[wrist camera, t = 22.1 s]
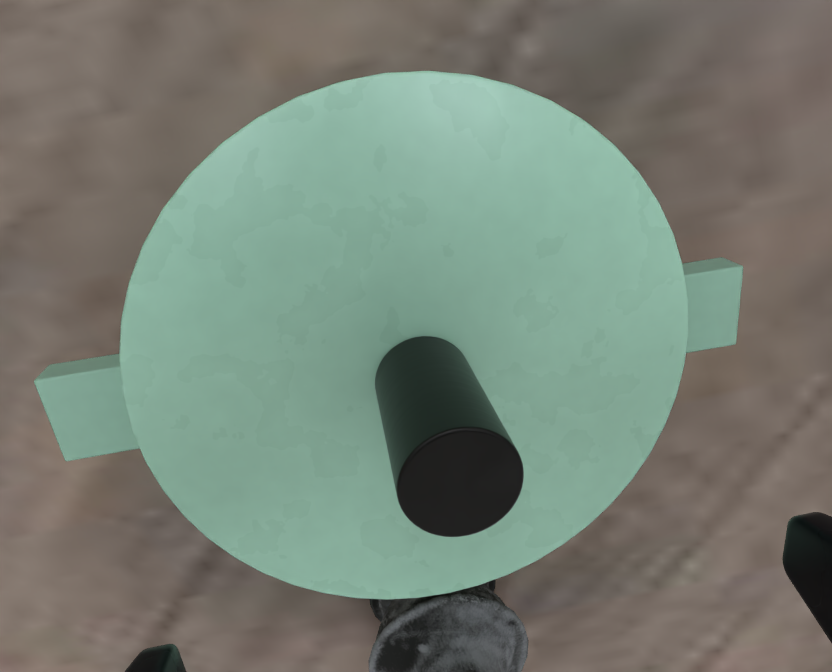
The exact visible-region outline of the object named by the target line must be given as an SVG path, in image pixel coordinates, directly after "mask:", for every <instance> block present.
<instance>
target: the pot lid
mask: <svg viewBox="0 0 832 672" xmlns="http://www.w3.org/2000/svg"><path fill="white" fill-rule="evenodd" d="M687 339H688V297H687V290H686V283H685V276H684V269H683V265H682V262H681V258H680V255H679V251H678V248H677V245H676V241H675V238H674V234H673V232H672V230H671V228H670V226H669V224H668V221H667V219H666V217H665V215H664V213H663V211H662V208H661V206H660V204H659V202H658V200H657V199H656V197H655V196H654V194H653V193H652V191H651V190H650V188H649V187H648V185H647V184H646V182H645V181H644V179H643V178H642V176H641V175H640V173H639V172H638V171H637V170H636V168H635V167H634V166H633V165H632V164H631V163H630V162H629V161H628V160H627V158H626V157H625V156H624V155H623V154H622V153H621V152H620V151H619V149H618V148H617V147H616V146H615V145H614V144H613V143H612V142H610V141H609V140H608V139H607V138H605V137H604V136H603V135H602V134H601V133H599V132H598V131H597V130H596V129H594V128H593V127H592V126H591V125H590V124H588V123H587V122H586V121H585V120H583V119H581V118H580V117H578V116H576V115H575V114H573V113H571V112H570V111H568V110H566V109H565V108H563V107H561V106H560V105H558V104H556V103H554V102H553V101H551V100H549V99H546V98H544V97H542V96H539V95H537V94H534V93H532V92H529V91H527V90H524V89H522V88H519V87H517V86H515V85H512V84H508V83H504V82H499V81H495V80H491V79H487V78H483V77H479V76H475V75H469V74H458V73H448V72H437V71H413V72H393V73H381V74H376V75H371V76H366V77H361V78H356V79H351V80H346V81H341V82H338V83H335V84H332V85H329V86H326V87H323V88H320V89H318V90H315V91H312V92H309V93H306V94H303V95H300V96H298V97H296V98H294V99H292V100H290V101H288V102H286V103H284V104H282V105H280V106H278V107H276V108H275V109H273V110H271V111H269V112H267V113H265V114H263V115H261V116H259V117H257V118H256V119H254V120H253V121H252V122H250V123H249V124H248V125H246V126H245V127H243V128H242V129H241V130H239V131H238V132H236V133H235V134H234V135H232V136H231V137H229V138H228V139H227V140H225V141H224V142H222V143H221V144H220V145H219V146H218V147H217V148H216V149H215V150H214V151H213V152H212V153H211V154H210V155H209V156H208V157H207V158H206V159H205V160H203V161H202V162H201V163H200V164H199V165H198V166H197V167H196V168H195V169H194V170H193V171H192V172H191V173H190V174H189V175H188V177H187V178H186V179H185V180H184V182H183V183H182V184H181V186H180V187H179V188H178V190H177V191H176V192H175V193H174V195H173V196H172V197H171V199H170V200H169V201H168V203H167V204H166V205H165V206H164V208H163V209H162V211H161V213H160V215H159V217H158V218H157V220H156V222H155V224H154V226H153V227H152V229H151V231H150V233H149V235H148V236H147V238H146V240H145V242H144V244H143V246H142V249H141V251H140V254H139V257H138V259H137V262H136V265H135V267H134V270H133V273H132V275H131V278H130V281H129V285H128V289H127V294H126V299H125V304H124V309H123V313H122V318H121V332H120V351H119V361H120V371H121V381H122V391H123V397H124V401H125V405H126V409H127V412H128V416H129V420H130V424H131V428H132V431H133V433H134V435H135V438H136V440H137V442H138V445H139V447H140V450H141V452H142V454H143V457H144V459H145V461H146V463H147V465H148V466H149V468H150V470H151V471H152V473H153V475H154V476H155V478H156V479H157V481H158V483H159V484H160V486H161V488H162V489H163V491H164V492H165V493H166V495H167V496H168V497H169V498H170V499H171V501H172V502H173V503H174V504H175V506H176V507H177V508H178V509H179V510H180V512H181V513H182V514H183V515H184V516H185V517H186V518H187V519H188V520H189V521H190V522H191V523H192V524H193V525H194V526H195V527H196V528H197V529H199V530H200V531H201V532H202V533H203V534H204V535H205V536H206V537H207V538H208V539H210V540H211V541H212V542H214V543H215V544H217V545H218V546H219V547H221V548H222V549H224V550H225V551H226V552H228V553H229V554H231V555H232V556H233V557H235V558H237V559H238V560H240V561H242V562H244V563H246V564H248V565H249V566H251V567H253V568H255V569H257V570H259V571H260V572H262V573H265V574H267V575H270V576H272V577H275V578H277V579H280V580H282V581H285V582H287V583H290V584H292V585H296V586H299V587H303V588H307V589H310V590H314V591H318V592H321V593H326V594H332V595H339V596H345V597H352V598H365V599H385V600H388V599H406V598H420V597H427V596H433V595H439V594H446V593H451V592H455V591H459V590H462V589H466V588H470V587H474V586H478V585H481V584H484V583H486V582H489V581H492V580H495V579H497V578H500V577H503V576H505V575H508V574H510V573H512V572H514V571H516V570H519V569H521V568H523V567H525V566H527V565H529V564H531V563H533V562H535V561H537V560H539V559H540V558H542V557H544V556H545V555H547V554H548V553H550V552H552V551H553V550H555V549H557V548H558V547H560V546H561V545H563V544H564V543H566V542H567V541H568V540H570V539H571V538H572V537H574V536H575V535H576V534H578V533H579V532H580V531H581V530H583V529H584V528H585V527H587V526H588V525H589V524H590V523H591V522H592V521H593V520H594V519H596V518H597V517H598V516H599V515H600V514H601V513H602V512H603V511H604V510H605V509H606V508H607V507H608V506H609V505H610V504H611V503H612V502H613V501H614V500H615V499H616V498H617V496H618V495H619V494H620V493H621V492H622V491H623V490H624V488H625V487H626V486H627V485H628V484H629V483H630V481H631V480H632V479H633V477H634V476H635V475H636V473H637V472H638V470H639V469H640V467H641V466H642V464H643V463H644V461H645V460H646V459H647V457H648V456H649V454H650V452H651V450H652V449H653V447H654V445H655V443H656V441H657V439H658V437H659V436H660V434H661V432H662V430H663V428H664V426H665V424H666V421H667V419H668V416H669V413H670V411H671V408H672V406H673V403H674V401H675V398H676V395H677V391H678V387H679V384H680V380H681V376H682V372H683V368H684V363H685V355H686V347H687Z"/></svg>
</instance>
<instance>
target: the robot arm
mask: <svg viewBox="0 0 832 672" xmlns="http://www.w3.org/2000/svg"><path fill="white" fill-rule="evenodd" d="M783 565H784V569H785V571H786V574H787V576H788V577H789V579H790V580H791V582H792V584H793V585H794V587H795V588H796V590H797V591H798V593H799V594H800V596H801V597H802V599H803V600H804V602H805V603H806V605H807V606H808V608H809V609H810V611H811V612H812V614H813V615H814V617H815V618H816V620H817V621H818V623H819V625H820V626H821V628H822V629H823V631H824V632H825V634H826V635H827V637H828V638H829V640H830V641H831V643H832V517H831V516H828V515H826V514H823V513H819V512H813V513H808V514H803V515H798V516H794V517H792V518H791V519H790V521H789V522H788V525H787V532H786V539H785V545H784V552H783ZM125 672H186V670H185V667H184V664H183V661H182V659H181V656H180V653H179V651H178V649H177V647H176V646H175V645H173V644H166V645H161V646H156V647H152V648H147V649H145V650H143V651H142V652H141V653H139V655H138V656H137V657H136V658H135V659H134V661H133V662H132V663H131V664H130V666H129V667H128V668H127V669H126V671H125Z"/></svg>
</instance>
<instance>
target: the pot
mask: <svg viewBox="0 0 832 672" xmlns="http://www.w3.org/2000/svg"><path fill="white" fill-rule="evenodd" d="M682 265H683V269H684V276H685V283H686V290H687V297H688V339H687V347H686V353H689V352H695V351H701V350H706V349H712V348H718V347H723V346H729V345H735V344H736V338H737V327H738V317H739V306H740V296H741V285H742V275H743V266H742V265H739V264H737V263H735V262H732V261H730V260H727V259H725V258H722V257H721V258H715V259H708V260H702V261H696V262H690V263H683V264H682ZM34 383H35V386H36V388H37V391H38V393H39V396H40V398H41V401H42V403H43V406H44V408H45V411H46V414H47V416H48V419H49V421H50V424H51V426H52V429H53V431H54V434H55V436H56V439H57V441H58V444H59V446H60V449H61V451H62V454H63V457H64V459H65V461H71V460H76V459H82V458H88V457H94V456H99V455H105V454H111V453H117V452H122V451H128V450H134V449H139V448H140V447H139V445H138V442H137V440H136V438H135V435H134V433H133V431H132V428H131V424H130V420H129V416H128V412H127V409H126V405H125V401H124V397H123V391H122V381H121V371H120V361H119V354H114V355H108V356H101V357H95V358H89V359H83V360H76V361H70V362H64V363H58V364H51V365H49V366H48V367H47V368H46V369H45V370H44V371H43V372H42V373H41V374H40V375H39V376H38V377H37V378H36V379H35V380H34Z"/></svg>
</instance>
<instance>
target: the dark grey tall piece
mask: <svg viewBox="0 0 832 672" xmlns="http://www.w3.org/2000/svg"><path fill="white" fill-rule="evenodd" d="M494 589H495V580H492V581H489V582H486V583H484V584H481V585H478V586H474V587H470V588H466V589H462V590H459V591H455V592H451V593H446V594H439V595H433V596H427V597H420V598H406V599H388V600H385V599H370V605H371V607H372V609H373V612H374V614H375V616H376V617H377V618H378V619H379V620H380V621H381V624H380V627H379V630H378V634H377V637H376V641H375V643H374V644H373V647H372V651H371V654H370V658H369V672H521V671H522V668H523V666H524V663H525V661H526V658H527V654H528V638H527V634H526V631H525V628H524V625H523V623H522V622H521V620H520V619H519V618H518V616H517V615H516V614H515V612H514V611H513V610H511V609H510V608H508V607H507V606H505V604H504V603H503V602H502V600H501V599H500V598H499V597H498V596H497V595H496V594H495V593H494Z"/></svg>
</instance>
